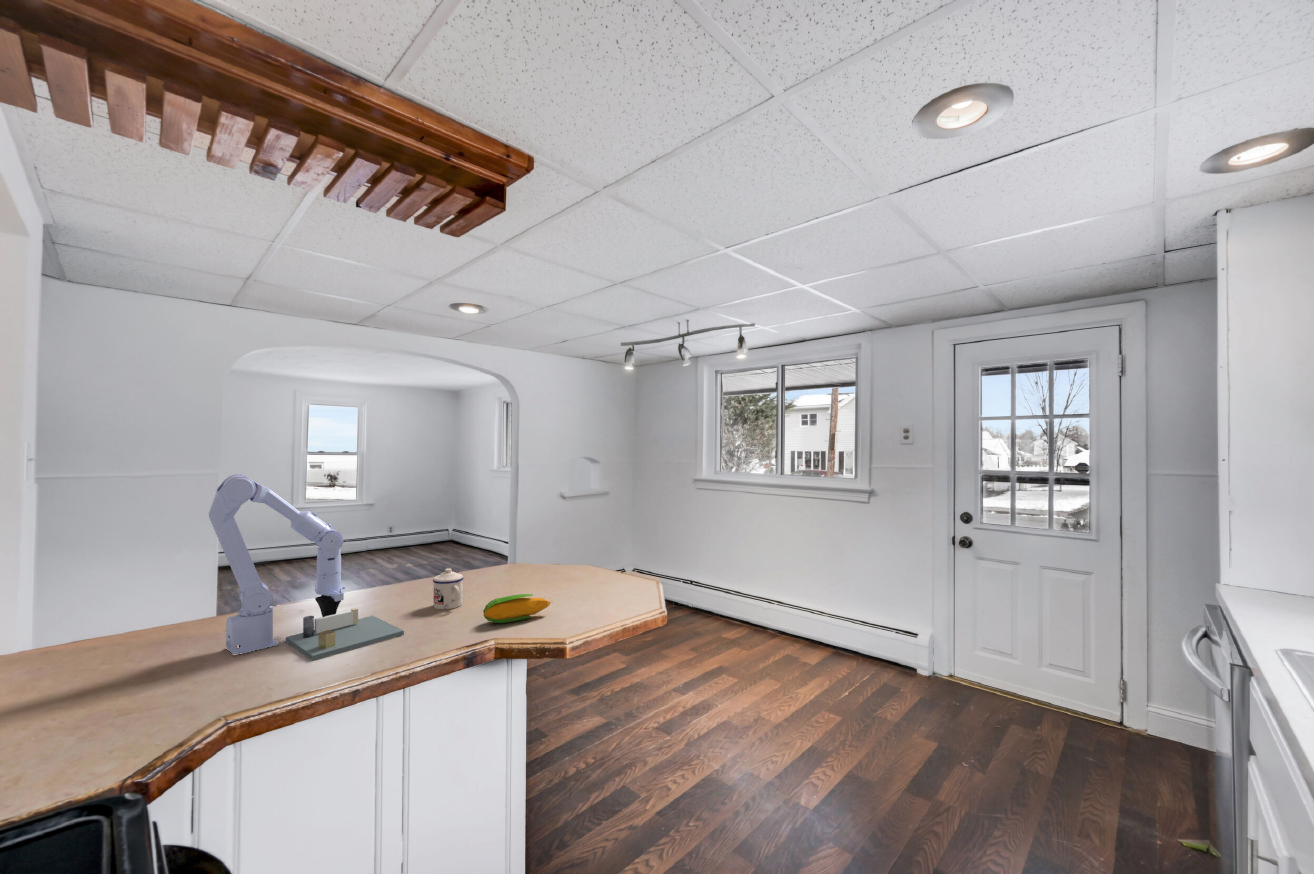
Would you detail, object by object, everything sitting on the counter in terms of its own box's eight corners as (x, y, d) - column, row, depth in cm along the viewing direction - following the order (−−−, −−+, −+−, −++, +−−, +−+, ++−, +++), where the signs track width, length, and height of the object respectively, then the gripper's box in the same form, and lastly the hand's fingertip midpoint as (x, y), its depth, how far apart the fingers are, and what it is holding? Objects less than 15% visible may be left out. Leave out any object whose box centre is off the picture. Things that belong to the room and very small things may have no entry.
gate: (316, 633, 143) (316, 618, 143) (314, 632, 144) (314, 617, 144) (358, 623, 151) (358, 608, 151) (355, 621, 152) (355, 607, 152)
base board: (312, 660, 130) (312, 655, 130) (285, 641, 142) (285, 636, 142) (403, 634, 147) (403, 630, 147) (372, 619, 159) (372, 615, 159)
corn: (480, 595, 158) (545, 585, 168) (479, 620, 158) (545, 609, 169) (487, 603, 151) (554, 592, 162) (486, 630, 152) (554, 617, 163)
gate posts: (322, 649, 134) (322, 629, 133) (301, 636, 142) (301, 617, 142) (336, 646, 136) (336, 626, 136) (315, 632, 145) (315, 614, 145)
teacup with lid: (428, 605, 173) (428, 568, 173) (455, 599, 179) (456, 564, 179) (443, 614, 164) (443, 575, 164) (472, 607, 170) (472, 570, 170)
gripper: (355, 574, 148) (355, 623, 148) (334, 565, 157) (334, 612, 157) (327, 579, 142) (327, 631, 142) (306, 570, 151) (306, 619, 151)
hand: (328, 621), depth 149 cm, fingers closed
